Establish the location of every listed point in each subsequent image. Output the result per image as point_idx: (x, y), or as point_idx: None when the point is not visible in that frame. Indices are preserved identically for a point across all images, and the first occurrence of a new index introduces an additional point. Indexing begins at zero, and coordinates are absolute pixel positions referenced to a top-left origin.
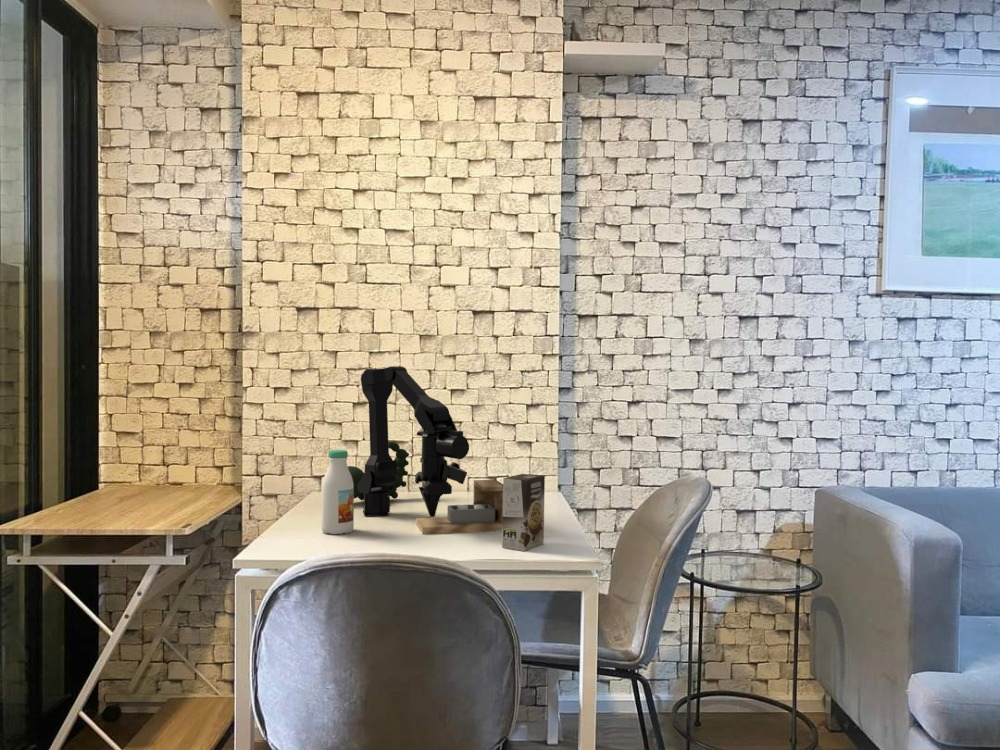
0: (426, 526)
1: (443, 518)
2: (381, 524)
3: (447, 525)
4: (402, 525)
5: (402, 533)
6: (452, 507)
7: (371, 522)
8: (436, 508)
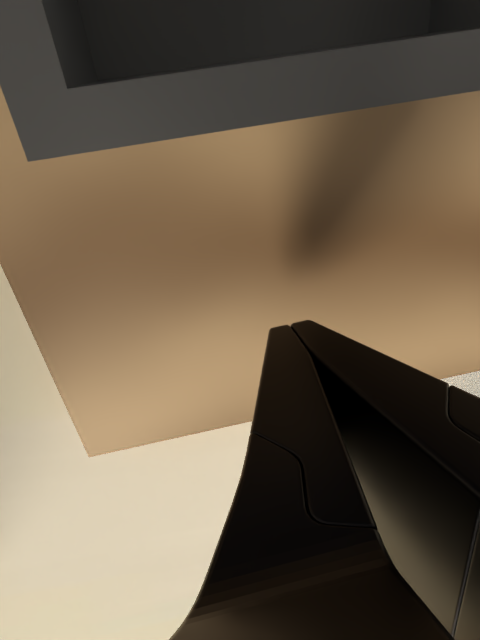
0: (451, 345)
1: (52, 183)
2: (112, 586)
3: (476, 135)
4: (134, 490)
5: None
6: (56, 22)
7: (58, 633)
8: (393, 360)
